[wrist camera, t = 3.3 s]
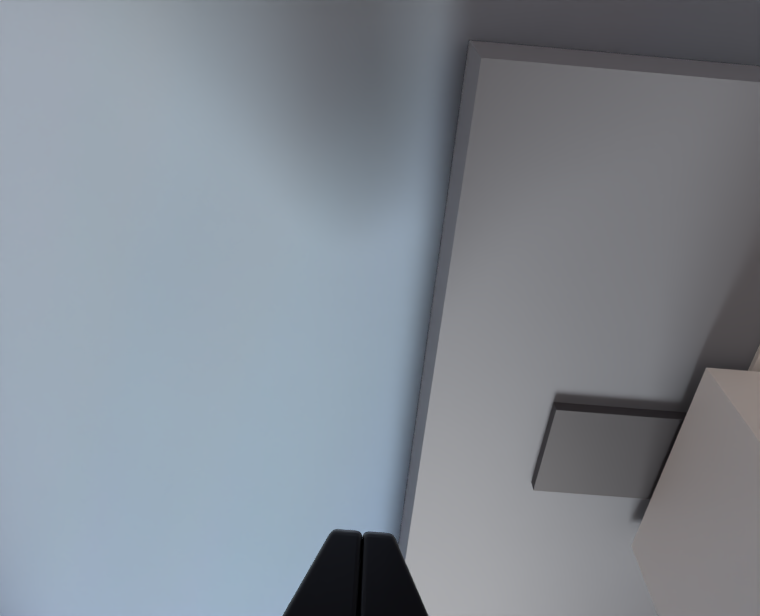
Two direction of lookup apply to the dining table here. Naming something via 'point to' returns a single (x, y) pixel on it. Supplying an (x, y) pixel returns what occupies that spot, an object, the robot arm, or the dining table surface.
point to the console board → (576, 319)
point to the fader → (708, 506)
